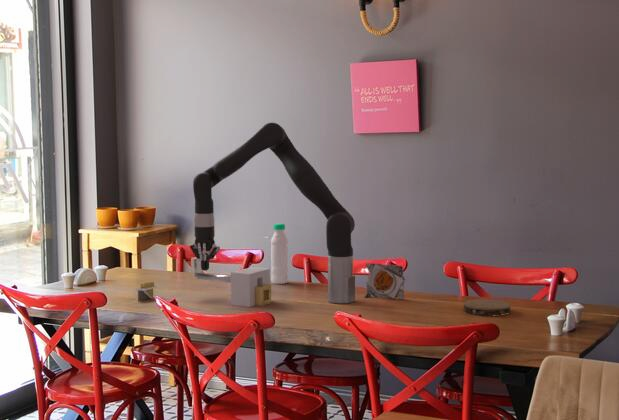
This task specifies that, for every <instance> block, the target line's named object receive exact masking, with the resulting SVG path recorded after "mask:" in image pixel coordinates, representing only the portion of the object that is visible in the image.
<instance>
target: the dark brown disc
mask: <svg viewBox="0 0 619 420" xmlns="http://www.w3.org/2000/svg"><path fill="white" fill-rule="evenodd" d="M463 312H464V313H466V314H468V315H472V316H479V317H494V316H493V315H501V314H506V313H509V312H510V313H511V304H510V303H509V302H506V301H502V300H496V299H470V300H466V301H464V303H463Z"/></svg>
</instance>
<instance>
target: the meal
mask: <svg viewBox="0 0 619 420" xmlns="http://www.w3.org/2000/svg"><path fill="white" fill-rule="evenodd" d="M365 267H366V268H367V271H368V272H369V274H367V275H366V277H367V280H366V282H365V284H366V286H365V287H366V293H365V296H364V297H363V298H364V299H367V298H384V297H391V298H390V299H393V298H396V299H397V298H398V299H399V298H400V299H399V300H402V299H403V300H404V298H405V297H404V296H405V293H404V292H405V291H404V288H405V280H406V279H405V276H404V266H403V265H395V264H383V263H377V262H375V263H373V262H371V263H368V262H366V263H365ZM401 287H402V289H401Z"/></svg>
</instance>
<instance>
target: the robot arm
mask: <svg viewBox="0 0 619 420" xmlns="http://www.w3.org/2000/svg"><path fill="white" fill-rule="evenodd" d="M268 149H270V151H271V152H273V154H274V155H275V156H276V157H277V158H278V159H279V161H280V162H281V163H282V165H283V166H284V168H285V171H286V173H287V174H288V176H289V178H290V179H291V181H292V182H293V184H294V185H295V187H296V188H297V189H298V191H300V193H301V194H302V195H303V196H304V197H305V198H306V199H308V200H309V202H311V203H312V204H313V205H314V206H316V208H318V209H319V211H321V213H322V214H323V215H324V217H325V218H326V220H327V221H326V226H325V231H326V248H327V255H328V256H327V257H328V258H327V286H328V287H327V297H328V298H327V300H328V301H327V302H329V303H333V304H350V303H353V302H355V301H356V275H354V249H353V246H352V233H353V231H354V230H355V225H356V224H355V219H354V218H353V215H352V214H351V213H349V211H348V210H347V209H346V208H345V207H344V206H343V205H342V204H341V203H340V202H339V200H338V199H336V197H335V196H334V194H333V193H332V192H331V190H330V189H329V187H328V185H327V184H326V183H325V181H324V180H323V178H322V177H321V176H320V175H319V173H318V172H317V171H316V169H315V168H314V167H313V166H312V165H311V163H310V162H309V161H308V160H307V159H306V158H305V157H304V156H303V155H302V154H301V153H300V152H299V151H298V149H296V147H295V146H294V144H293V143H292V141H291V139H290V138H289V136H288V135H287V133H286V131H285V129H284V128H283V127H282V126H281V125H280V124H279V123H277V122H268V123H265V124H264V125H263V126H262V127H261V128H260V129H258V131H256V133H255V134H253V135H252V136H251V137H250V138H249V139H248V140H246V141H245V142H244V143H243V144H241V145H239V147H237V148H235V149H234V150H232V151H231V152H229V153H228V154H226V155H225V156H224V157H222V158H220V159H219V160H218V161H216V162H215V163H213V165H211V166H210V167H209V168H207V169H206V170H204V171H202V172H199V173H197V174H196V175H195V177H194V178H193V182H192V183H193V184H192V185H193V186H192V187H193V196H194V221H193V223H194V237H195V240H194V243H193V244H191V245H189V249H191V251H192V254H193V255H194V256H195V258H197V259H200V260H201V269H202V271H204V272H206V271H209V269H210V260H214V258H215V257H216V255H217V254H218V252H219V251H220V249H221V248H220V246H217V245H216V244H215V243H216V241H215V235H216V234H215V216H214V215H215V214H214V207H215V206H214V200H213V197H212V196H213V195H212V190H213V188H214V187H215V186H217V185H218V184H219V183H221V182H222V181H223V180H225V179H228V177H230V176H232V175H233V174H234V173H236V172H237V171H239V170H240V169H242V168H243V167H244V166H245V165H246V164H247V163H248V162H249V161H251V159H253V158H254V157H255V156H257V155H258V154H259V153H261V152H263V151H265V150H268Z"/></svg>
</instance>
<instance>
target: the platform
mask: <svg viewBox="0 0 619 420" xmlns="http://www.w3.org/2000/svg"><path fill="white" fill-rule="evenodd" d="M157 288H158V285H156V284H155V282H154V281H149V282H143V283H140V287H135V288H134V291H137V301H138V302H139V300H140V301H144V300H147V299H153V298H154V289H157ZM143 299H144V300H143Z"/></svg>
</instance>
